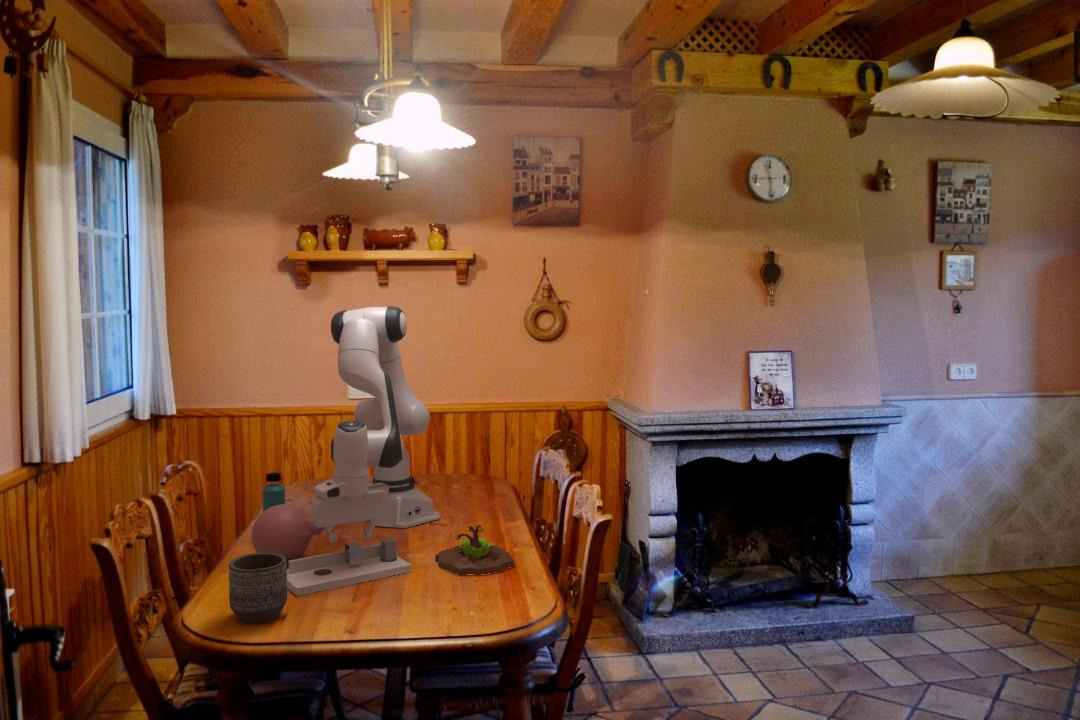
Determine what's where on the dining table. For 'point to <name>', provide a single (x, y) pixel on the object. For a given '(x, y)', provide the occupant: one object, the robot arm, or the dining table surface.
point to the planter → (258, 587)
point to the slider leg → (352, 553)
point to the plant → (474, 556)
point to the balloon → (283, 531)
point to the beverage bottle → (273, 491)
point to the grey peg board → (344, 569)
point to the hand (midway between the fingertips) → (350, 539)
